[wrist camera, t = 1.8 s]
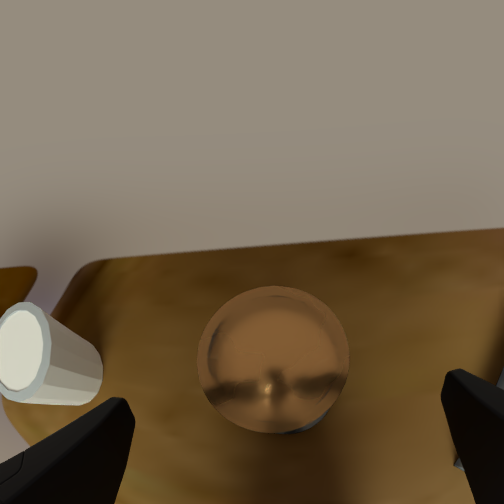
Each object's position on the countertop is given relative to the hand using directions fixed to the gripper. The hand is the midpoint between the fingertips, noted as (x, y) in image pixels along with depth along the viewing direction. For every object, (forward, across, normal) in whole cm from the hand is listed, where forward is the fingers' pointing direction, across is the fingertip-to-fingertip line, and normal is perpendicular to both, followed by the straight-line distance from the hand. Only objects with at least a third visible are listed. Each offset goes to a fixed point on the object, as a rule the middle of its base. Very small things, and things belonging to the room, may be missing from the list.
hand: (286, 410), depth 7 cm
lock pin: (+10, 0, +8) cm, 13 cm away
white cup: (+11, +17, +7) cm, 21 cm away
